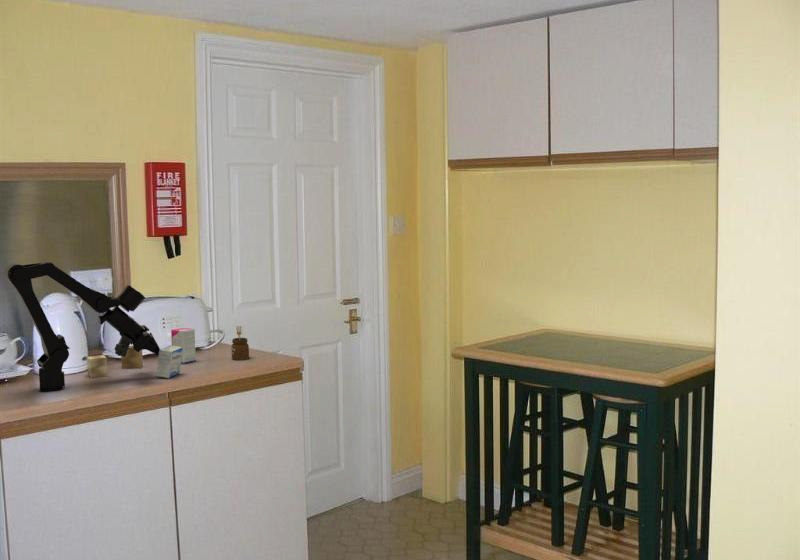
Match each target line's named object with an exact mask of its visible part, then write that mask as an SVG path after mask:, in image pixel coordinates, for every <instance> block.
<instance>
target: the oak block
mask: <svg viewBox="0 0 800 560" xmlns="http://www.w3.org/2000/svg"><path fill="white" fill-rule="evenodd" d="M126 353H127V354H126V356H125V357H123V356H120V359H121V369H122V370H125V369H126V370H127V369H128V370H130V369H133V370H134V368H136V369H142V368H143V367H144V364H143V363H144V359H143V358H144V357H143V350H140V351H139V352H137V351H136V350H134V349H133V345H129V348H128V350H127V352H126Z"/></svg>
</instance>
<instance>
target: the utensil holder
mask: <svg viewBox="0 0 800 560" xmlns="http://www.w3.org/2000/svg"><path fill="white" fill-rule="evenodd" d="M244 332H245V330H244V328H243V326H241V325H240V326H236V335H237V336H238V337H236V338H232V340H231V342H232V345H231V358H232V360H234V361H245V360H248V359H249V358H250V349H249V348H250V347H249V343H248V341H249V340H248V338H247V337H242V336H245V335H244Z"/></svg>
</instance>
